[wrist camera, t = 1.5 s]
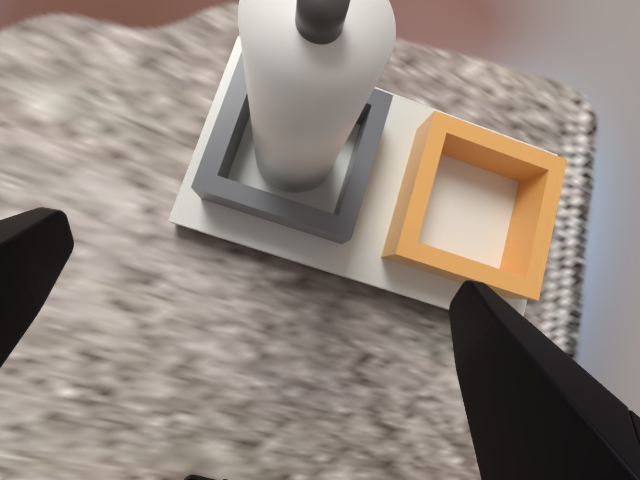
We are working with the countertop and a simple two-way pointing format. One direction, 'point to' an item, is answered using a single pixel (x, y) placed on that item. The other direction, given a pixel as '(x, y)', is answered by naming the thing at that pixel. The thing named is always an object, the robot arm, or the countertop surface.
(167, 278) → the countertop surface
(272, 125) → the white bottle
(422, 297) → the dock
